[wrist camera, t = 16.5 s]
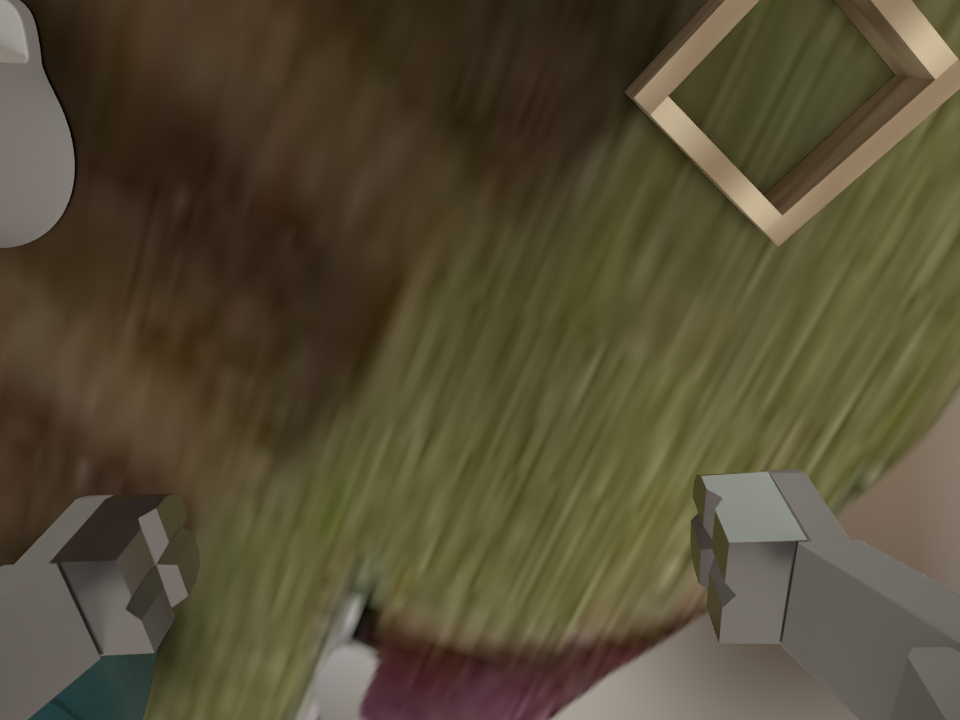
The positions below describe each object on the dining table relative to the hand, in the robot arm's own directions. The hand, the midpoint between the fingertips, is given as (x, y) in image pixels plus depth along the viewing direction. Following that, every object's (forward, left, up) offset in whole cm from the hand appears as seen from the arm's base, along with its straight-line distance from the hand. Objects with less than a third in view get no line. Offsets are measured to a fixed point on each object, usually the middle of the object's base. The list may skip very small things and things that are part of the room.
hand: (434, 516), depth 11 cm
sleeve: (+8, +13, -32) cm, 36 cm away
